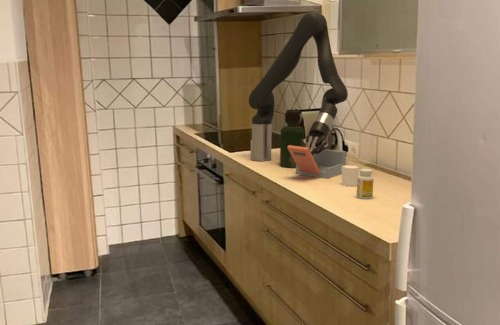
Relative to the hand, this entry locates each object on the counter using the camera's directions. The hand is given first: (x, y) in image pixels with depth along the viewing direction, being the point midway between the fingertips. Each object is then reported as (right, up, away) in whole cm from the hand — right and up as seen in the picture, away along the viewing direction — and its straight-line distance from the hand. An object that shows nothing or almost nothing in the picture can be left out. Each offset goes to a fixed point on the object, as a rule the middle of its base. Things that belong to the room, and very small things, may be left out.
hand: (306, 160), depth 203 cm
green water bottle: (-4, -2, +26) cm, 26 cm away
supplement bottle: (+17, -13, -27) cm, 35 cm away
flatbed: (+7, -5, +11) cm, 14 cm away
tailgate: (+2, -4, +4) cm, 6 cm away
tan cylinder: (+16, -9, -9) cm, 20 cm away
